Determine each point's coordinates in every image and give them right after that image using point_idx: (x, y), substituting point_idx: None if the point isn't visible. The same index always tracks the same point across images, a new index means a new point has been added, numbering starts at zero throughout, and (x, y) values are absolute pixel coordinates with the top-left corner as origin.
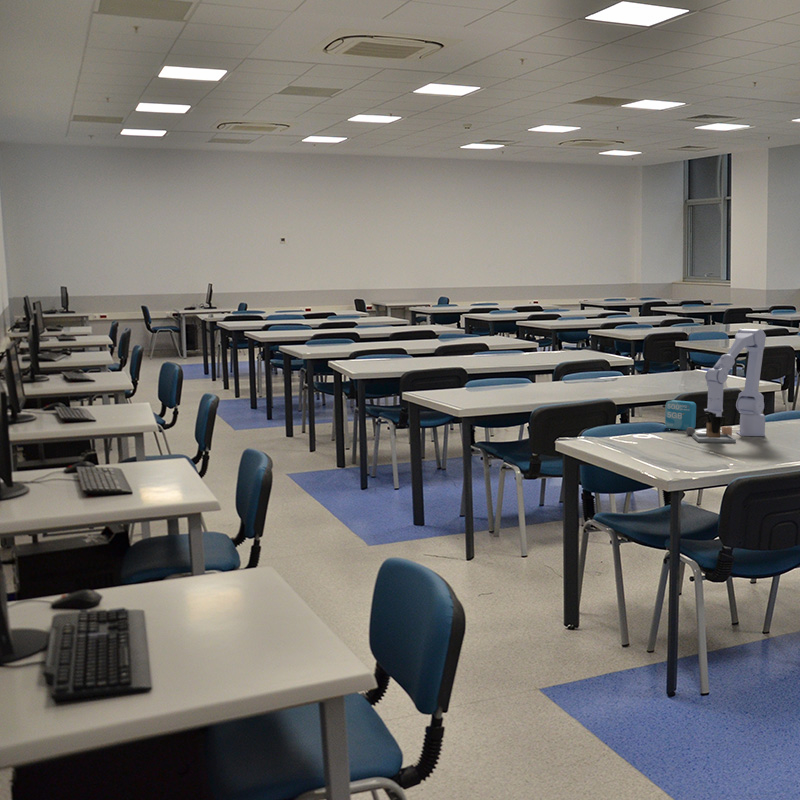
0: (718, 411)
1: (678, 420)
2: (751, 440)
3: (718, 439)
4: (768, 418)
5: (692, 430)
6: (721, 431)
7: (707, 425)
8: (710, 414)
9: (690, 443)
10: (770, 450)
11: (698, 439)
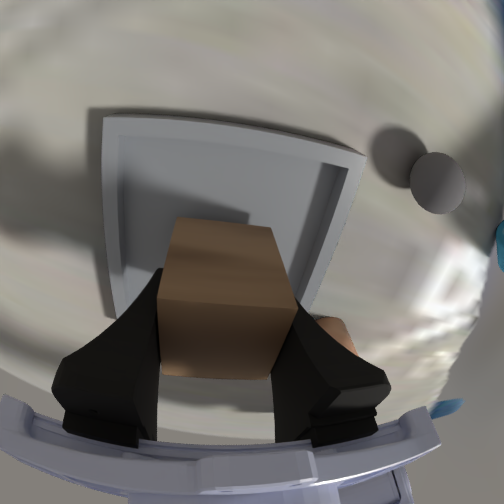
0: (28, 463)
1: None
2: (208, 382)
3: (107, 259)
4: (451, 400)
5: (422, 188)
6: (344, 337)
7: (239, 284)
8: (312, 413)
9: (89, 47)
10: (22, 355)
11: (120, 116)
